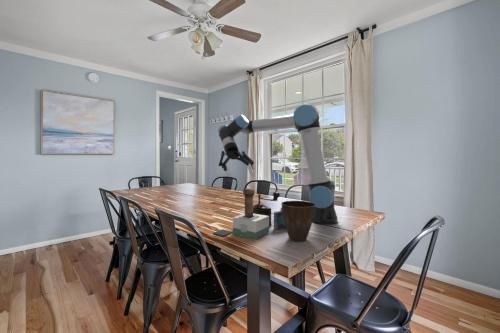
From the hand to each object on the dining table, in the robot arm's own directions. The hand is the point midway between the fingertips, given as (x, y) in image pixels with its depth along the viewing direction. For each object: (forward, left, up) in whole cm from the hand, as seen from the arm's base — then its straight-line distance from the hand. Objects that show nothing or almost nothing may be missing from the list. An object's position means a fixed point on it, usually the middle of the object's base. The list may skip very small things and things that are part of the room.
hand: (241, 174), depth 128 cm
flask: (-19, -9, -28) cm, 35 cm away
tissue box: (-10, +6, -27) cm, 30 cm away
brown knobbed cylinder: (-10, +8, -24) cm, 28 cm away
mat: (+1, +14, -27) cm, 31 cm away
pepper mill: (-7, -11, -28) cm, 31 cm away
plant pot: (-32, +1, -28) cm, 43 cm away
